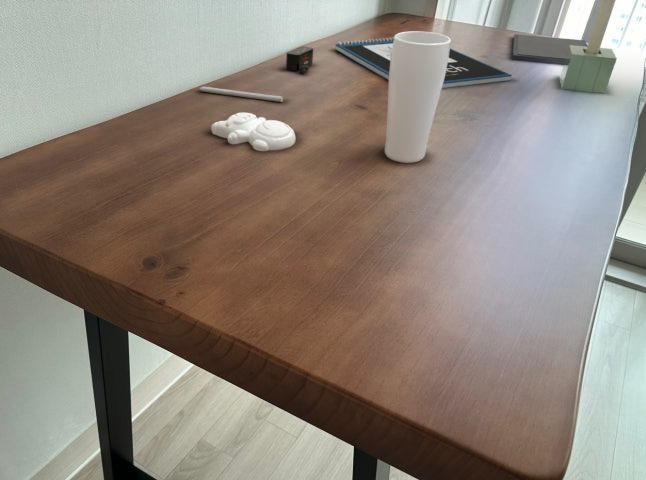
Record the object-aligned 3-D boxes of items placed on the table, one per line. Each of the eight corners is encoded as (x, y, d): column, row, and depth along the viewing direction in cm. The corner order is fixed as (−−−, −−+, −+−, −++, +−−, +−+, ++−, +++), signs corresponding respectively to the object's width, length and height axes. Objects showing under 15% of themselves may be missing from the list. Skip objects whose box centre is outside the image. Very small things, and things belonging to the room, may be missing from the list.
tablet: (583, 45, 129) (585, 39, 128) (592, 68, 113) (594, 62, 112) (513, 39, 132) (514, 33, 132) (512, 60, 117) (513, 54, 116)
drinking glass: (378, 145, 80) (392, 29, 71) (427, 148, 79) (448, 32, 70) (378, 165, 74) (394, 42, 65) (432, 168, 73) (455, 45, 65)
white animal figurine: (242, 119, 87) (242, 99, 85) (307, 139, 81) (308, 118, 79) (202, 136, 81) (201, 115, 79) (268, 158, 75) (268, 136, 73)
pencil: (200, 86, 97) (283, 97, 93) (199, 91, 97) (282, 102, 93) (197, 85, 96) (282, 95, 92) (196, 90, 97) (280, 101, 92)
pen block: (600, 83, 105) (611, 48, 102) (604, 94, 100) (616, 58, 96) (559, 78, 107) (569, 44, 104) (561, 89, 102) (571, 54, 98)
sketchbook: (409, 94, 99) (411, 82, 98) (332, 51, 121) (333, 41, 120) (510, 81, 105) (513, 69, 104) (419, 42, 128) (421, 33, 127)
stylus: (586, 85, 104) (615, -3, 96) (587, 88, 102) (616, -1, 94) (574, 84, 104) (602, -4, 96) (575, 87, 103) (603, -2, 95)
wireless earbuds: (282, 71, 108) (283, 53, 106) (301, 63, 113) (301, 46, 111) (304, 76, 106) (305, 57, 104) (322, 67, 111) (323, 49, 109)
